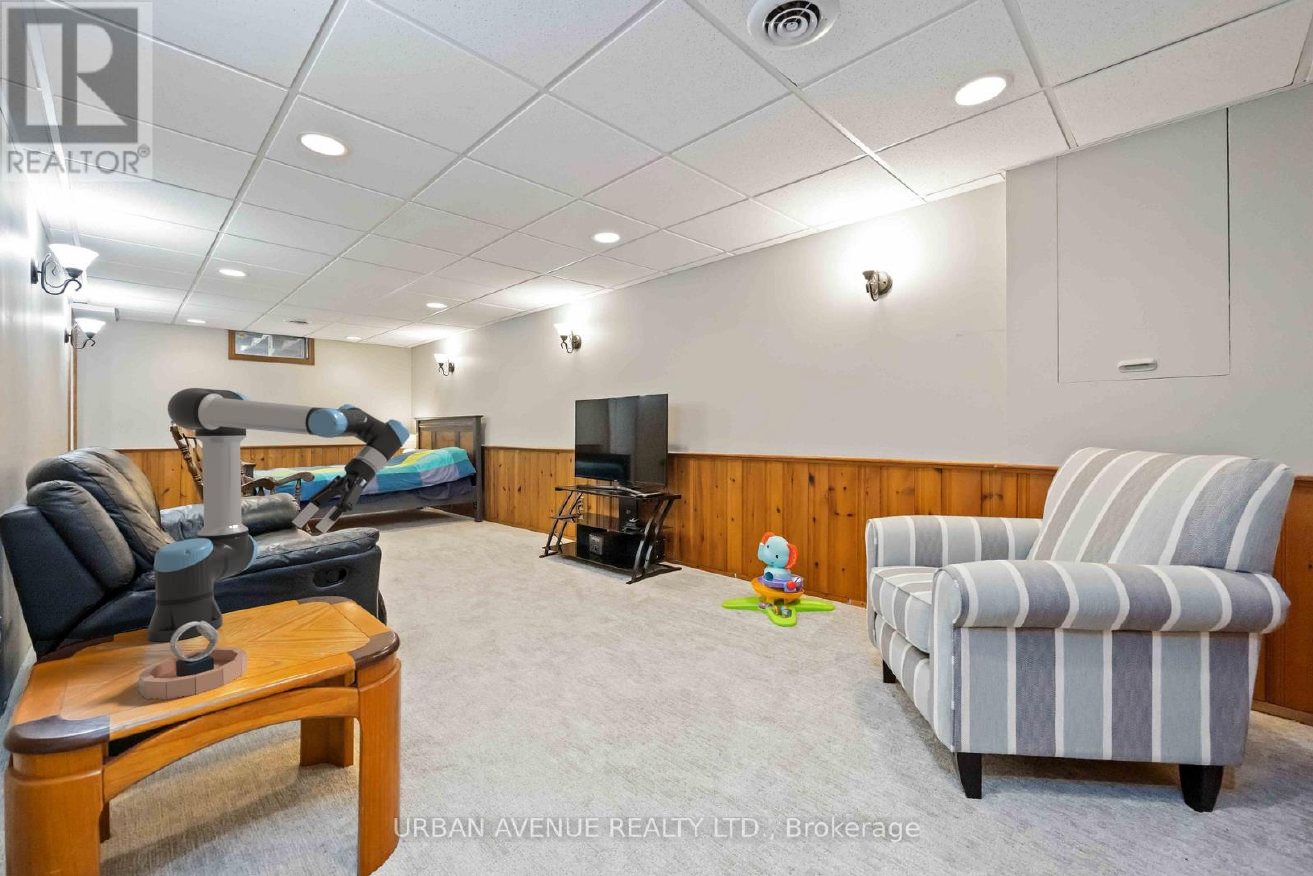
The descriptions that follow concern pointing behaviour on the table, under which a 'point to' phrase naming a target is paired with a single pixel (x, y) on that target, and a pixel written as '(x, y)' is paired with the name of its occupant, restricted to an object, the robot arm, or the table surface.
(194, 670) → the watch
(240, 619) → the table surface
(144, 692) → the dish
